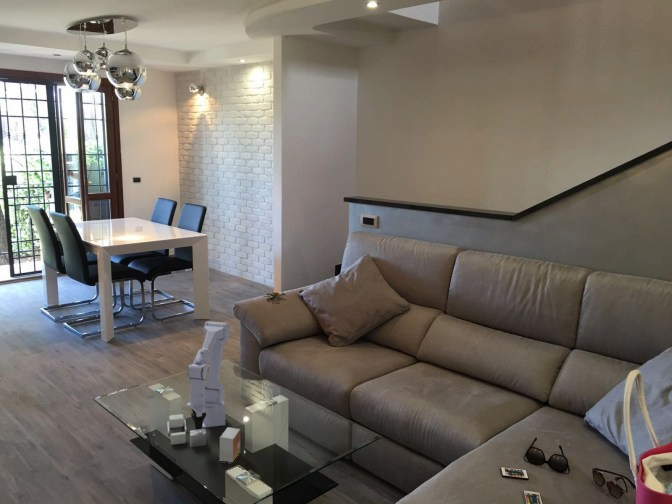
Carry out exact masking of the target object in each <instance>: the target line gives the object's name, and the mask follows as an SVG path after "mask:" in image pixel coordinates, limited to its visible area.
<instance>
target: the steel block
mask: <svg viewBox="0 0 672 504" xmlns="http://www.w3.org/2000/svg"><path fill="white" fill-rule="evenodd" d="M189 444H190V448H192V447H201V446H206V445H207V431H206V428H202V429H199V430H196V429H192V430H189Z"/></svg>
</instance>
